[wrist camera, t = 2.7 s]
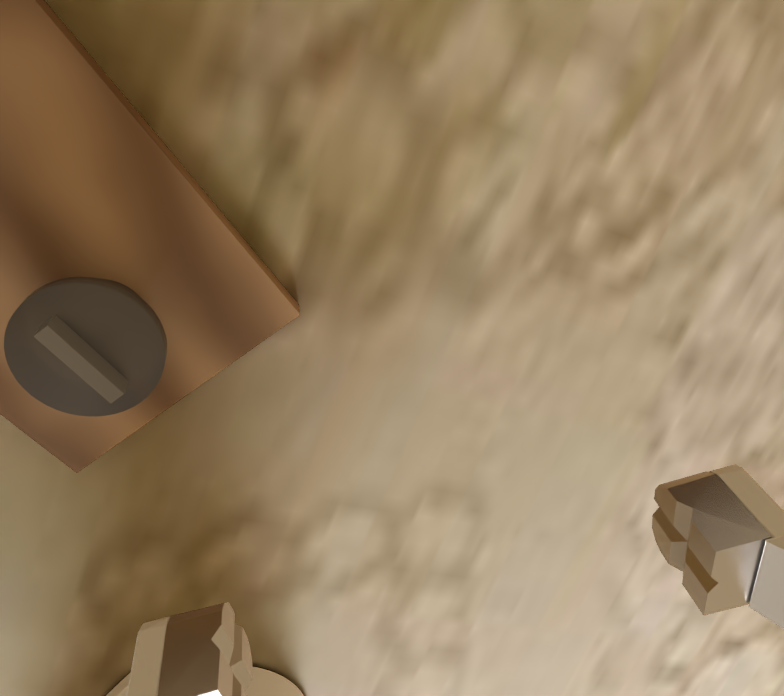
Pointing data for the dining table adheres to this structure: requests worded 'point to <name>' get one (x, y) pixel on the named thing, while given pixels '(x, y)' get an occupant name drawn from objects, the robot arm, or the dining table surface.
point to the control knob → (86, 346)
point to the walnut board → (112, 229)
